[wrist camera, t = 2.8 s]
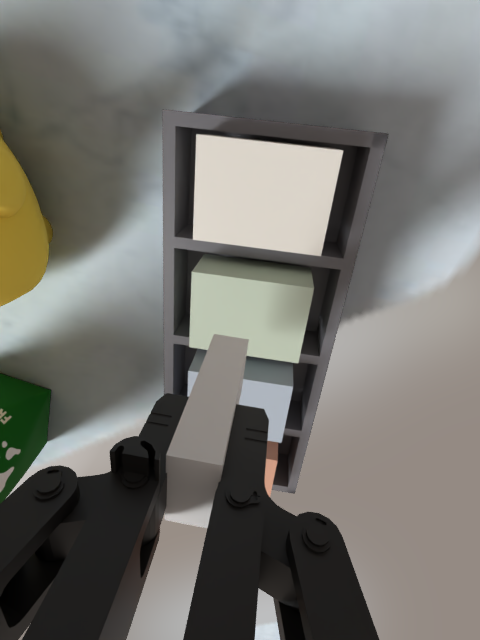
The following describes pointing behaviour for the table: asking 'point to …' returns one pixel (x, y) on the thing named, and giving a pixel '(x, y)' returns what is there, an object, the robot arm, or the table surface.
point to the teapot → (20, 231)
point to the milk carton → (20, 428)
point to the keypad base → (266, 256)
